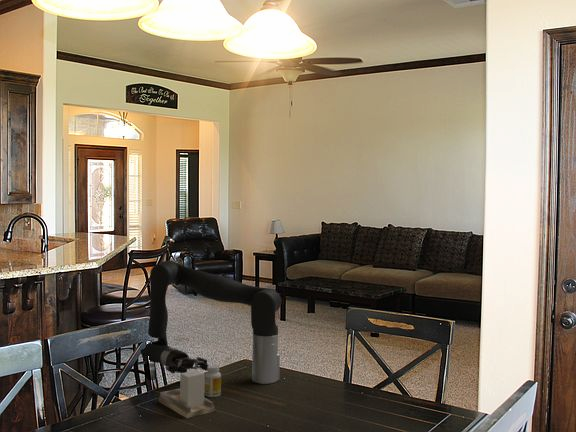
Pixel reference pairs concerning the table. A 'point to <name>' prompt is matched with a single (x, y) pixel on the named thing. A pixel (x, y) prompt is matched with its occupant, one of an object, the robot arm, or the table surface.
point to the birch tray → (173, 402)
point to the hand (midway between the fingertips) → (196, 369)
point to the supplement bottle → (213, 381)
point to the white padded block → (192, 388)
